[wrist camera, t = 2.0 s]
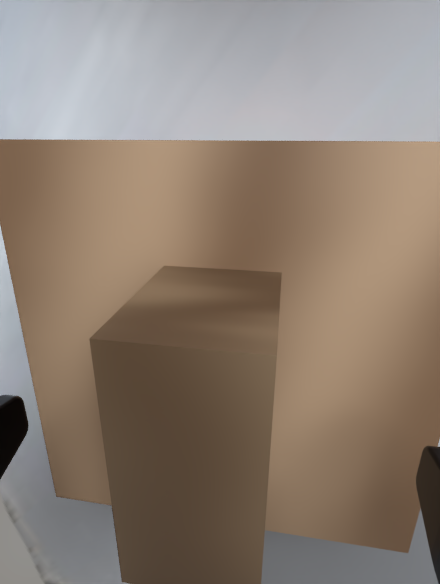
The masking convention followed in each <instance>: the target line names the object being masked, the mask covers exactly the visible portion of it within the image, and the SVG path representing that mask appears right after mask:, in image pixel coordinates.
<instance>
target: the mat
mask: <svg viewBox="0 0 440 584" xmlns="http://www.w3.org/2000/svg"><path fill="white" fill-rule="evenodd" d="M261 584H438V580H437V577H436V574H435V570H434V566H433V562H432V558H431V554H430V549H429V544H428V540H427V535H426V530H425V526H424V521H423V516H422V512H421V508H420V512H419V516H418V519H417V523H416V527H415V530H414V534H413V538H412V541H411V545H410V549H409V552H408V553H403V552H397V551H391V550H385V549H378V548H372V547H366V546H360V545H354V544H347V543H341V542H335V541H329V540H323V539H316V538H310V537H304V536H298V535H292V534H285V533H279V532H273V531H267V530H265V536H264V550H263V565H262V579H261Z"/></svg>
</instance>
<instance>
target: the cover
mask: <svg viewBox="0 0 440 584" xmlns="http://www.w3.org/2000/svg"><path fill="white" fill-rule="evenodd" d="M0 225H1V230H2V235H3V240H4V245H5V249H6V254H7V259H8V264H9V269H10V274H11V279H12V283H13V288H14V293H15V298H16V303H17V308H18V313H19V318H20V322H21V327H22V332H23V337H24V342H25V347H26V352H27V357H28V361H29V366H30V371H31V376H32V381H33V386H34V391H35V396H36V400H37V405H38V410H39V415H40V420H41V425H42V430H43V434H44V439H45V444H46V449H47V454H48V459H49V464H50V469H51V473H52V478H53V483H54V488H55V493H56V497H62V498H69V499H75V500H81V501H87V502H93V503H100V504H106V505H112V511H113V519H114V526H115V533H116V541H117V548H118V556H119V563H120V571H121V578H122V582H125V583H130V584H261V579H262V565H263V550H264V536H265V530H267V531H273V532H279V533H285V534H292V535H298V536H304V537H310V538H316V539H323V540H329V541H335V542H341V543H347V544H354V545H360V546H366V547H372V548H378V549H385V550H391V551H397V552H403V553H408V552H409V549H410V545H411V541H412V538H413V534H414V530H415V527H416V523H417V519H418V516H419V512H420V508H421V507H420V502H419V498H418V493H417V488H416V475H417V471H418V467H419V463H420V459H421V455H422V451H423V449H424V447H426V446H436V447H437V446H438V442H439V439H440V142H392V141H197V140H3V139H0Z"/></svg>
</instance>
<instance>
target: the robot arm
mask: <svg viewBox="0 0 440 584" xmlns="http://www.w3.org/2000/svg"><path fill="white" fill-rule="evenodd" d="M27 431H28V420H27V415H26V411H25V406H24V402H23V400H22V398H21V397H19V396H12V395H2V396H0V479H1V477H2V476H3V474H4V472H5V470H6V469H7V467H8V465H9V464H10V462H11V460H12V458H13V457H14V455H15V453H16V451H17V450H18V448H19V446H20V445H21V443H22V441H23V439H24V438H25V436H26V434H27ZM416 488H417V493H418V498H419V502H420V507H421V512H422V516H423V521H424V526H425V530H426V535H427V540H428V544H429V549H430V554H431V558H432V562H433V566H434V570H435V574H436V577H437V580H438V584H440V447H436V446H426V447H424V449H423V451H422V455H421V459H420V463H419V467H418V471H417V475H416Z"/></svg>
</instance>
